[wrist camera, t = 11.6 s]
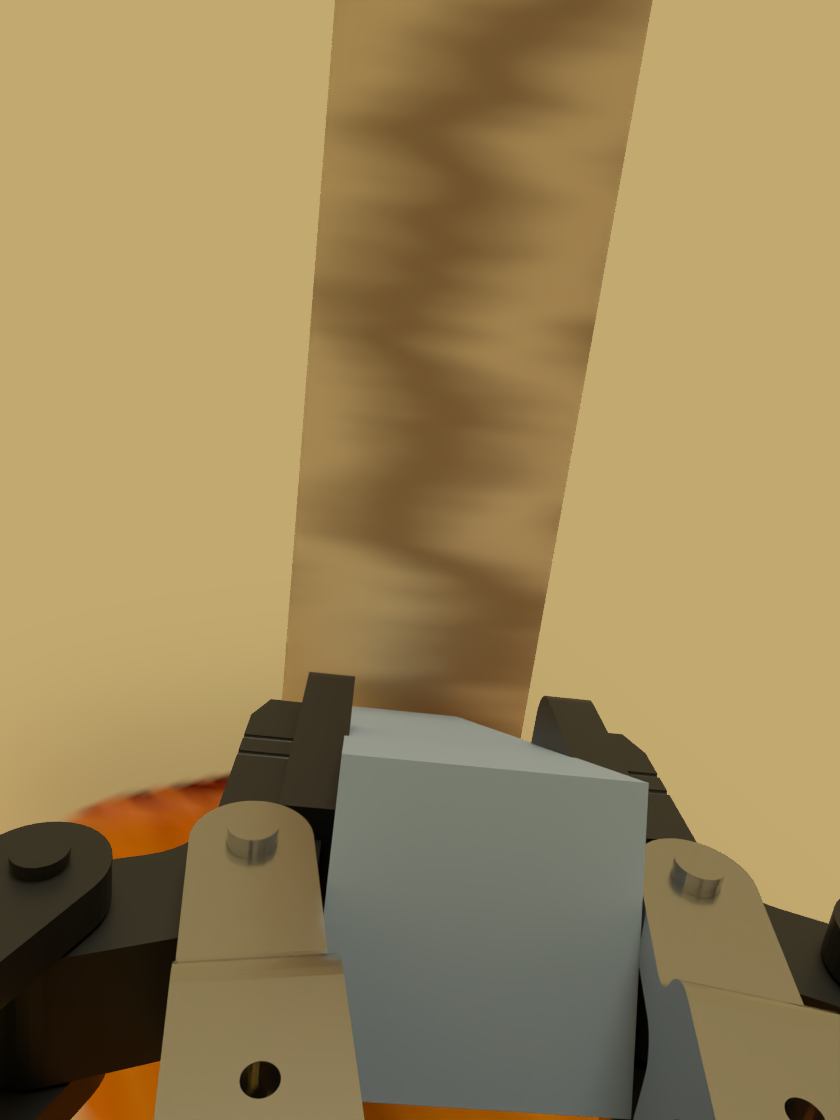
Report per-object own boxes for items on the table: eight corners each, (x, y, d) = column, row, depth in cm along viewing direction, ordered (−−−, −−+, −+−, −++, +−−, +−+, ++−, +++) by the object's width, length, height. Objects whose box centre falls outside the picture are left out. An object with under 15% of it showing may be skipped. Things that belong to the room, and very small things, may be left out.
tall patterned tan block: (459, 859, 32) (630, -201, 22) (475, 990, 26) (724, -403, 16) (287, 845, 32) (377, -245, 21) (261, 976, 26) (370, -470, 15)
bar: (446, 828, 22) (456, 716, 22) (630, 1120, 7) (648, 783, 8) (336, 818, 21) (348, 705, 22) (303, 1098, 7) (341, 753, 8)
